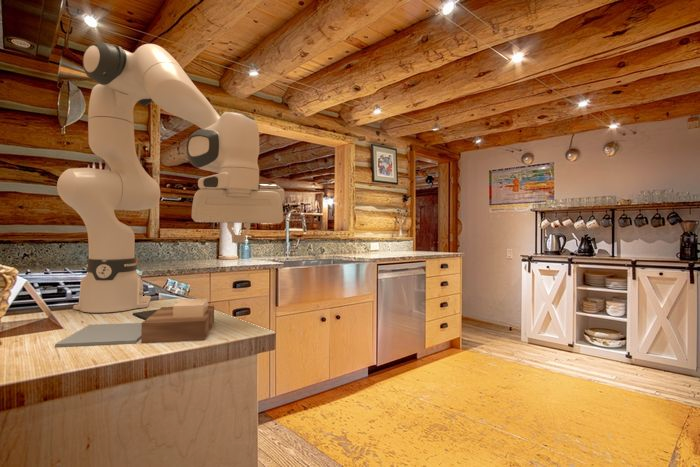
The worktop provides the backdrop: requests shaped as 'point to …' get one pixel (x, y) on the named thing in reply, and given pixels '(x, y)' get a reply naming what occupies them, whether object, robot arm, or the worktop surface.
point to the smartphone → (144, 314)
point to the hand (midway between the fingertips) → (238, 242)
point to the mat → (104, 335)
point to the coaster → (190, 308)
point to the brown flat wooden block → (176, 326)
